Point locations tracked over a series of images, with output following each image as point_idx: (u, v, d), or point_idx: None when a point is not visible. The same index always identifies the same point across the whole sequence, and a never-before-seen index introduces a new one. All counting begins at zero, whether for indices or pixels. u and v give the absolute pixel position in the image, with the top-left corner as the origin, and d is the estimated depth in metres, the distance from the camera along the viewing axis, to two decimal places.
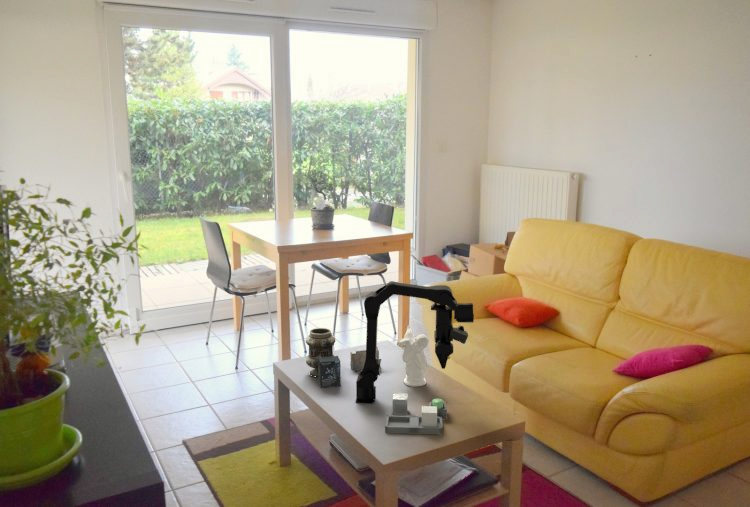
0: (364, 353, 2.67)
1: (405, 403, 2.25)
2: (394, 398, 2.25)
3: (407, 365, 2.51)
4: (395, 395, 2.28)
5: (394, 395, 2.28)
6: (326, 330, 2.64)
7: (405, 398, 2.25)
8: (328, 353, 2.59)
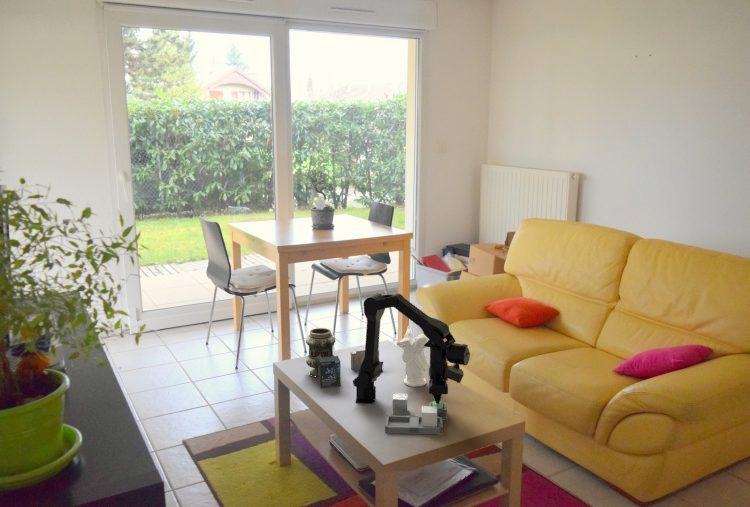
0: (364, 353, 2.67)
1: (405, 403, 2.25)
2: (394, 398, 2.25)
3: (407, 365, 2.51)
4: (395, 395, 2.28)
5: (394, 395, 2.28)
6: (326, 330, 2.64)
7: (405, 398, 2.25)
8: (328, 353, 2.59)
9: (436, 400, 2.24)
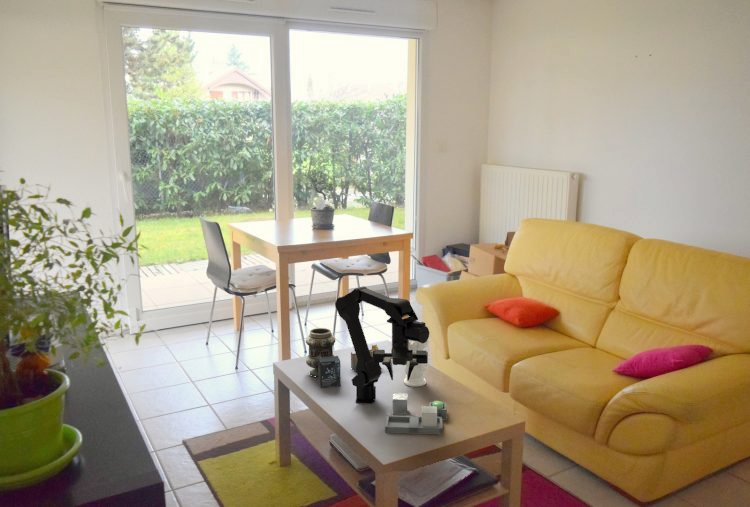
0: None
1: (405, 403, 2.25)
2: (394, 398, 2.25)
3: (407, 365, 2.51)
4: (395, 395, 2.28)
5: (394, 395, 2.28)
6: (326, 330, 2.64)
7: (405, 398, 2.25)
8: (328, 353, 2.59)
9: None
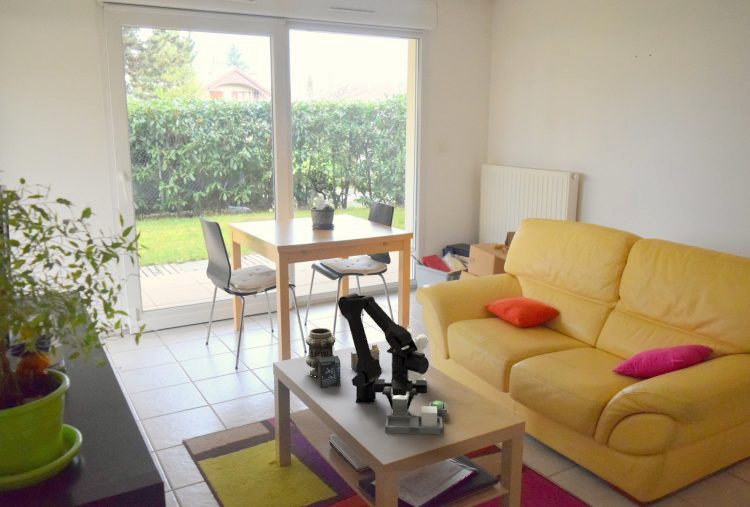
0: None
1: (405, 403, 2.25)
2: (394, 398, 2.25)
3: None
4: None
5: (394, 395, 2.28)
6: (326, 330, 2.64)
7: (405, 398, 2.25)
8: (328, 353, 2.59)
9: None
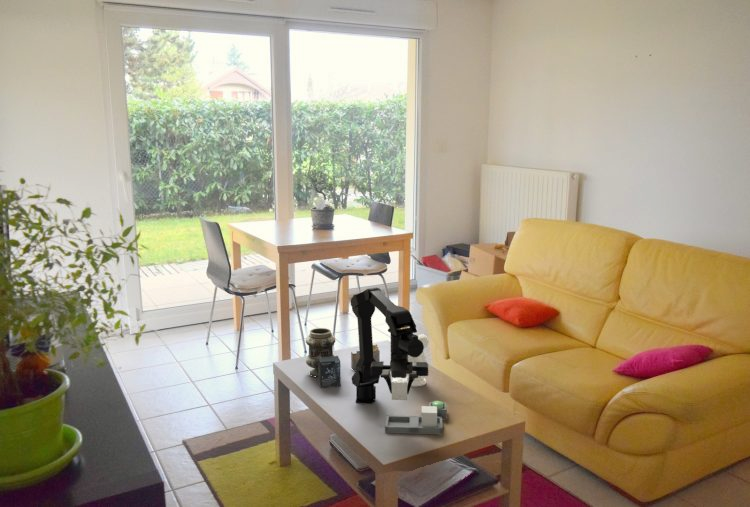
0: None
1: (405, 386, 2.12)
2: (394, 381, 2.13)
3: None
4: (394, 378, 2.15)
5: (393, 378, 2.16)
6: (326, 330, 2.64)
7: (405, 381, 2.13)
8: (328, 353, 2.59)
9: None
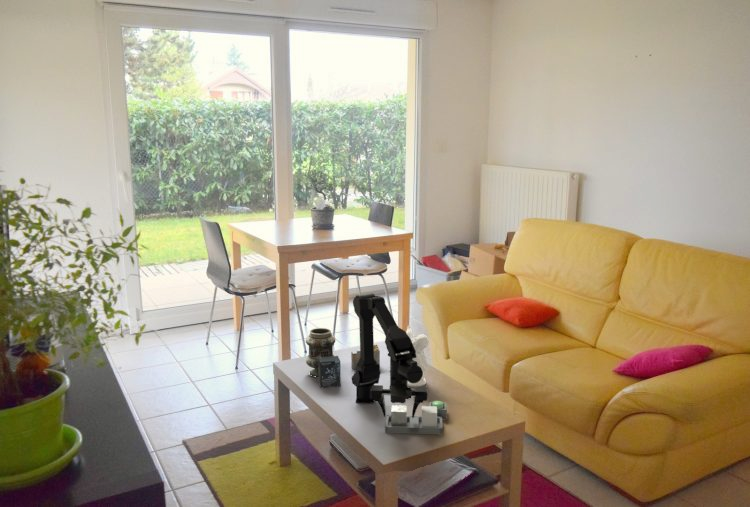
0: None
1: (404, 415, 2.14)
2: (393, 410, 2.15)
3: None
4: (393, 407, 2.17)
5: (393, 407, 2.17)
6: (326, 330, 2.64)
7: (404, 410, 2.15)
8: (328, 353, 2.59)
9: None
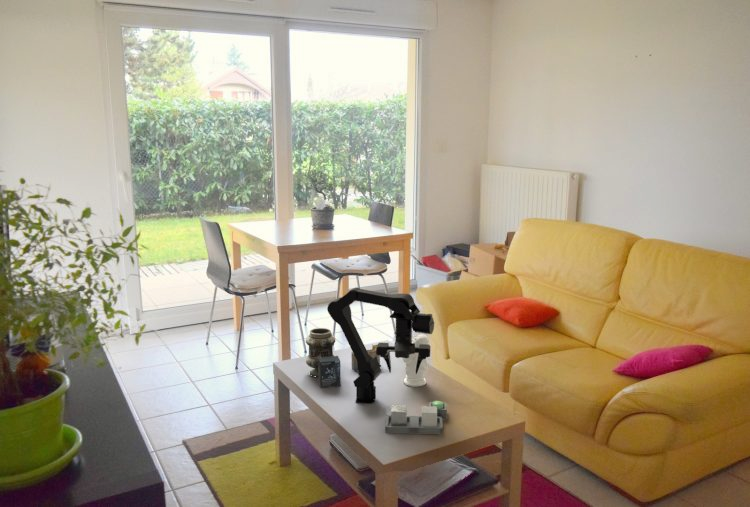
0: None
1: (404, 415, 2.14)
2: (393, 410, 2.15)
3: (407, 365, 2.51)
4: (393, 407, 2.17)
5: (393, 407, 2.17)
6: (326, 330, 2.64)
7: (404, 410, 2.15)
8: (328, 353, 2.59)
9: None
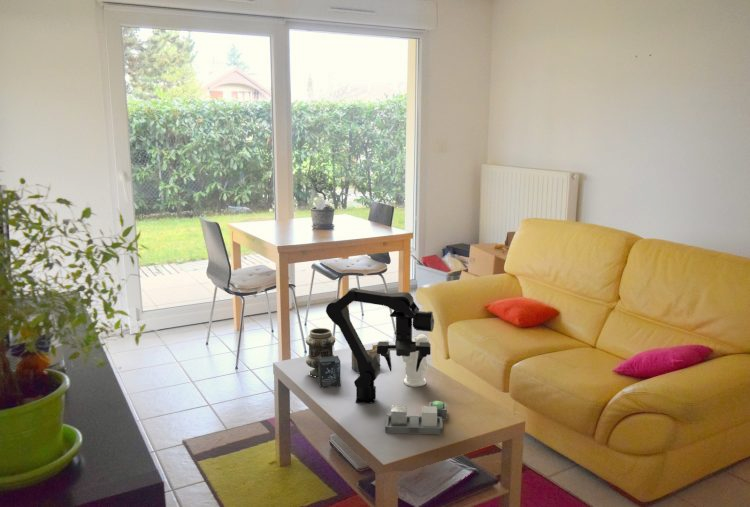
0: None
1: (404, 415, 2.14)
2: (393, 410, 2.15)
3: (407, 365, 2.51)
4: (393, 407, 2.17)
5: (393, 407, 2.17)
6: (326, 330, 2.64)
7: (404, 410, 2.15)
8: (328, 353, 2.59)
9: (389, 366, 2.33)
